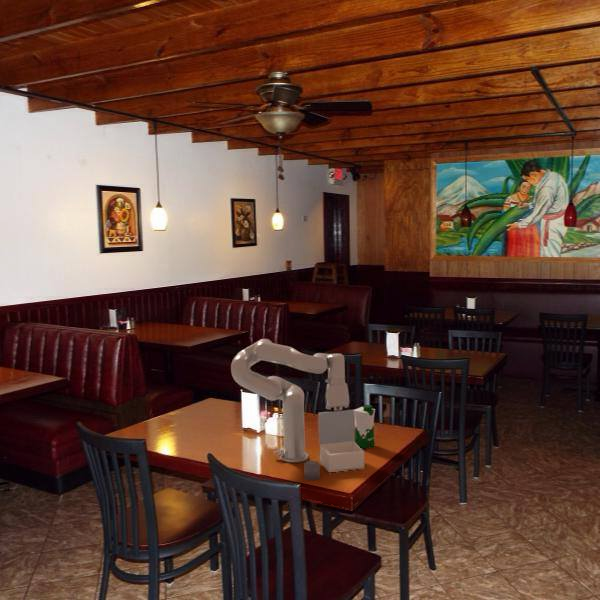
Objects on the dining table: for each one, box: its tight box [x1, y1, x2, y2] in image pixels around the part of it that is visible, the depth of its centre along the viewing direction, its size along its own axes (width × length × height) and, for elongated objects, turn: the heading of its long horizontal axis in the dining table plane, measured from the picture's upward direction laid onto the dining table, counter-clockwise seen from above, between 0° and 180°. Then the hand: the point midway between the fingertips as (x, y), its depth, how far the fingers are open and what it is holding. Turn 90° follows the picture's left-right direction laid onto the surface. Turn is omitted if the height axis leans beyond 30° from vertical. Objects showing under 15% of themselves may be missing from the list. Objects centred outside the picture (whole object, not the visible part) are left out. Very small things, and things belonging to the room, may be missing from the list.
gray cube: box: [303, 460, 321, 481], centre depth 258 cm, size 6×6×6 cm
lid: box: [317, 409, 355, 446], centre depth 277 cm, size 16×14×1 cm
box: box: [319, 440, 365, 474], centre depth 271 cm, size 16×14×8 cm
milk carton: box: [353, 404, 376, 450], centre depth 295 cm, size 9×9×20 cm
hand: (337, 420), depth 279 cm, fingers closed
